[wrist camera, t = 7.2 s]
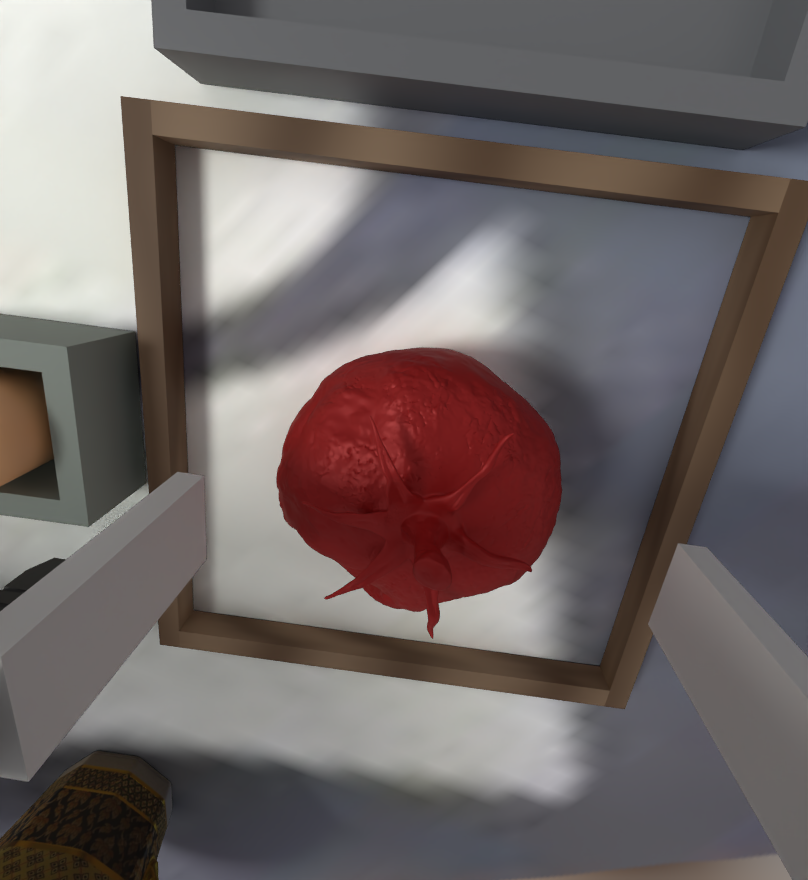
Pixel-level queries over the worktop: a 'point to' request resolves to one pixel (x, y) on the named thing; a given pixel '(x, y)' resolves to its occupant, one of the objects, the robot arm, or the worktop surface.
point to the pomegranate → (421, 478)
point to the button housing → (78, 419)
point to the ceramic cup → (92, 824)
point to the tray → (517, 59)
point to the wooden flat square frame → (757, 196)
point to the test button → (22, 423)
